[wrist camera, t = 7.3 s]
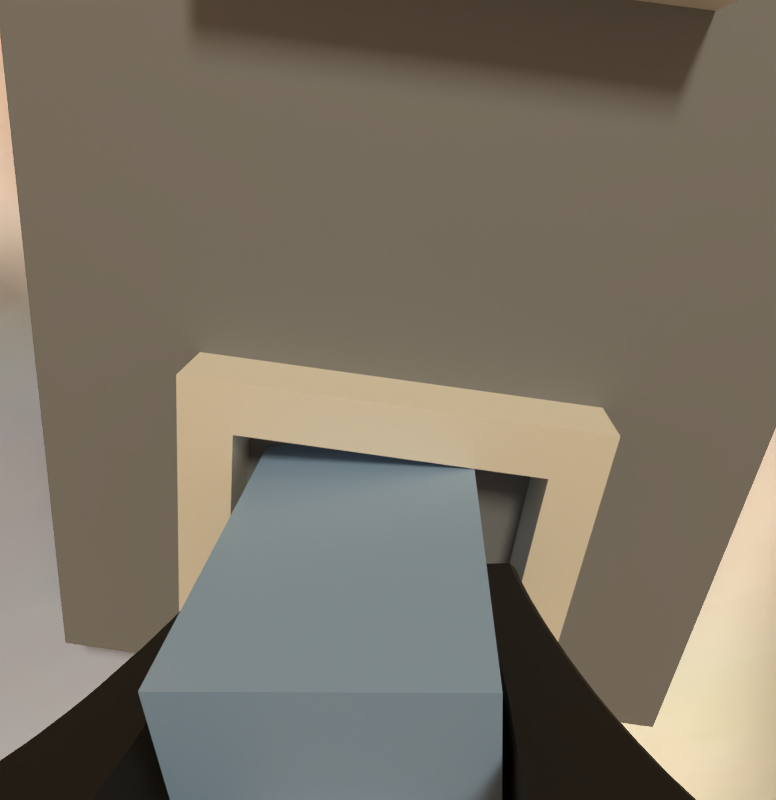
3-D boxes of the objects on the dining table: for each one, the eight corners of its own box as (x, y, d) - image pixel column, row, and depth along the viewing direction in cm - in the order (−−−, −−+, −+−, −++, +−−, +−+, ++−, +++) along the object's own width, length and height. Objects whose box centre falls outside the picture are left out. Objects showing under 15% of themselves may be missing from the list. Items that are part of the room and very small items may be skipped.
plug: (470, 438, 12) (508, 742, 6) (473, 603, 14) (506, 977, 8) (268, 444, 12) (113, 739, 6) (293, 605, 14) (186, 964, 8)
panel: (1197, -749, 7) (1509, -1107, 5) (639, 692, 16) (670, 774, 14) (-45, -895, 7) (-235, -1305, 5) (87, 612, 16) (36, 683, 14)
